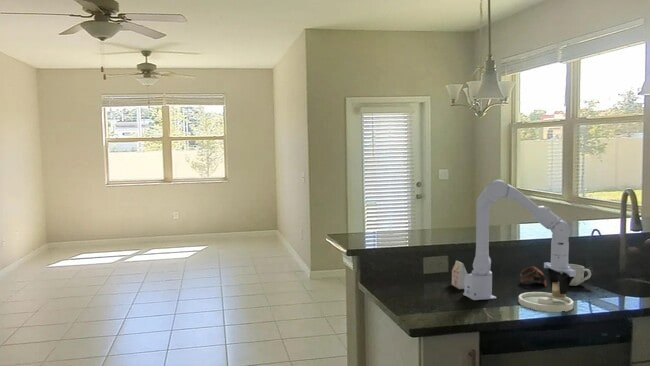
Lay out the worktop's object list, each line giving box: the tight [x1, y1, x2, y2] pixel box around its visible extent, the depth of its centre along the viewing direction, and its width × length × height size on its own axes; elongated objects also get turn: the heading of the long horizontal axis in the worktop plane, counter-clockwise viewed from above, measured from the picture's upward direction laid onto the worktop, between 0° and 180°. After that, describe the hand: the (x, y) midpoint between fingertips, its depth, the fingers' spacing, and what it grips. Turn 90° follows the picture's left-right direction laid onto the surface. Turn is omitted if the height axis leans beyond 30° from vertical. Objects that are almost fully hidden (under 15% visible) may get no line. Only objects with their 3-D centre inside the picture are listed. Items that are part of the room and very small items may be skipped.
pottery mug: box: [519, 266, 548, 287], centre depth 214 cm, size 12×9×8 cm
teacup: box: [561, 263, 592, 287], centre depth 212 cm, size 14×11×8 cm
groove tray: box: [518, 291, 575, 313], centre depth 185 cm, size 18×18×2 cm
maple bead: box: [551, 281, 567, 298], centre depth 186 cm, size 4×4×4 cm
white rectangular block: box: [451, 260, 469, 290], centre depth 209 cm, size 4×7×10 cm, turn 10°
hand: (558, 292), depth 186 cm, fingers closed on maple bead, 4 cm apart
